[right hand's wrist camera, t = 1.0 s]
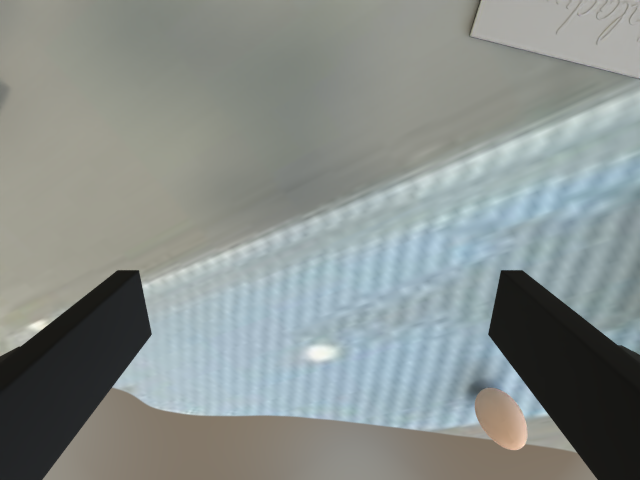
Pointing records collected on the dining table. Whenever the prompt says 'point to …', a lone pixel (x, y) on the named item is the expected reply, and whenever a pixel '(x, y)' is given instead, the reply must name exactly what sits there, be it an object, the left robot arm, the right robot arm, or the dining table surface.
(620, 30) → the invitation card
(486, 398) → the egg
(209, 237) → the dining table surface
